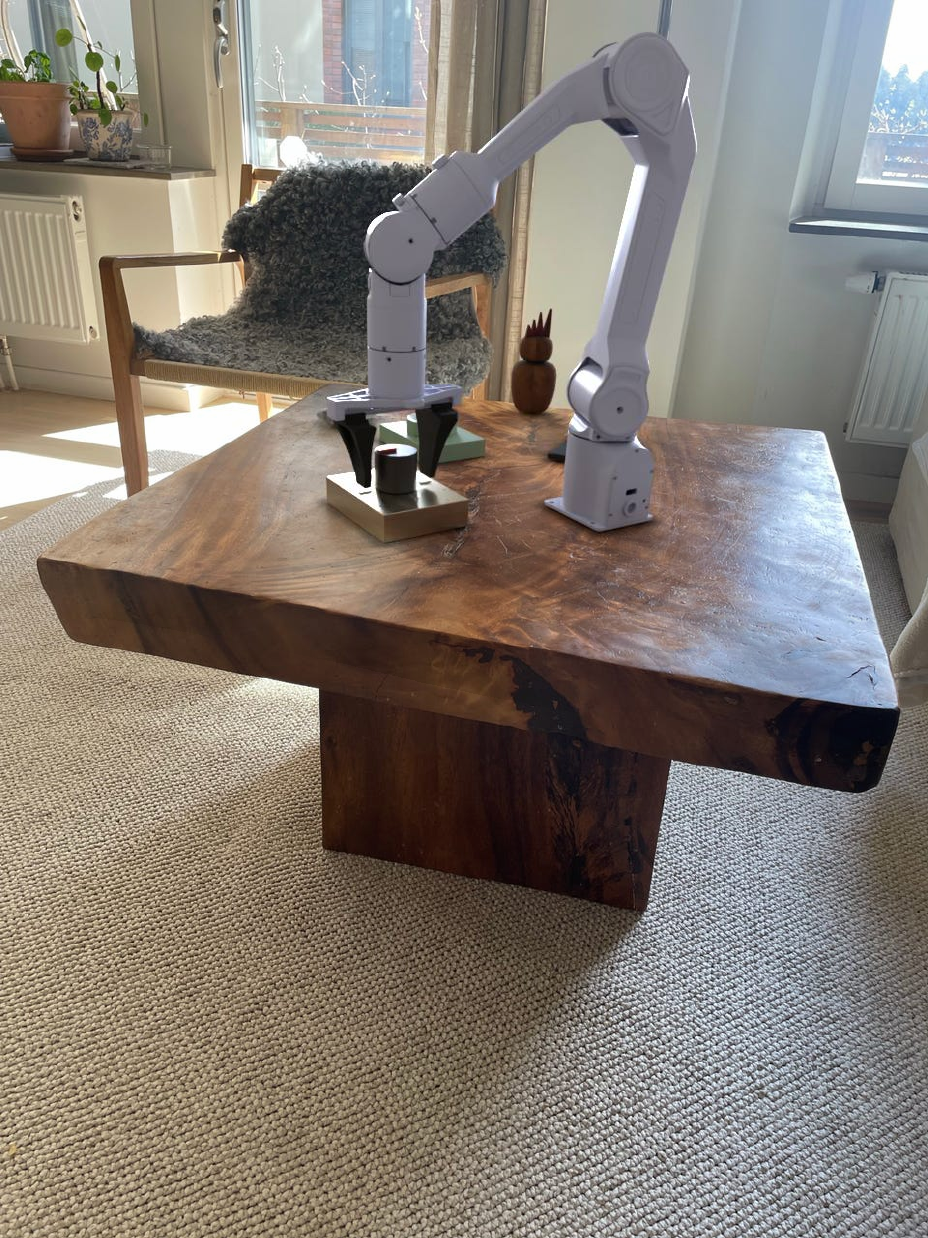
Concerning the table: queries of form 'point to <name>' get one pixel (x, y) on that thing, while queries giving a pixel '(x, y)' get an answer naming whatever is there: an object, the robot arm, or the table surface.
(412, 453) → the dial
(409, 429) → the button block
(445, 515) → the panel
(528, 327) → the wooden figurine
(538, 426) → the table surface
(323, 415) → the stone
